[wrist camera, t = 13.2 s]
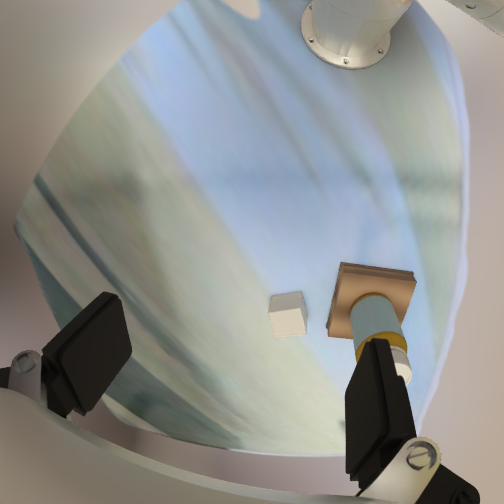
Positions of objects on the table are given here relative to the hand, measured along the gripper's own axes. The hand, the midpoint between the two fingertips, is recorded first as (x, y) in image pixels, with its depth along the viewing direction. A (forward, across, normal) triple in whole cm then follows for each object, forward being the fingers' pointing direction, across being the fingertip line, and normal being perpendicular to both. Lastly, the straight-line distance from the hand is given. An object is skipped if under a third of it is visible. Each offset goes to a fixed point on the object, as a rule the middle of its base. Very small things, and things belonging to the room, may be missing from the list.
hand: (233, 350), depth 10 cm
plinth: (+33, -15, +17) cm, 40 cm away
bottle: (+31, -15, +17) cm, 38 cm away
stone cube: (+33, -2, +20) cm, 39 cm away
